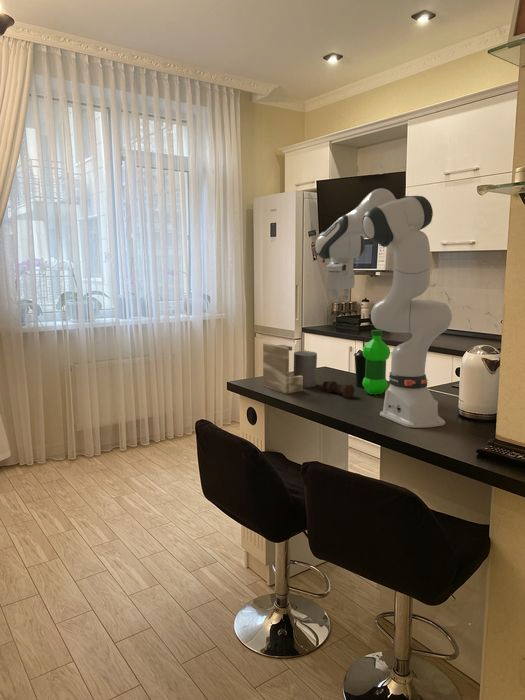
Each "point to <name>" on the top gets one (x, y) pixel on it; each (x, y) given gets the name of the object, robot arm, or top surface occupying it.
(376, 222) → the robot arm
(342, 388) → the bolt
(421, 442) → the top surface
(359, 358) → the drinking cup
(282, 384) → the cradle
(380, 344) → the plastic bottle
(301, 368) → the pillar candle
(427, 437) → the top surface
